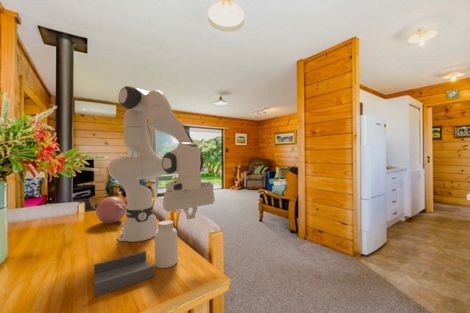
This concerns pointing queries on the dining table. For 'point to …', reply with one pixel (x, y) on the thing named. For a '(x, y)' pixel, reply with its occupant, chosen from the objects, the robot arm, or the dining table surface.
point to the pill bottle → (166, 245)
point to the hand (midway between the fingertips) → (190, 218)
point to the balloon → (111, 210)
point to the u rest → (121, 272)
